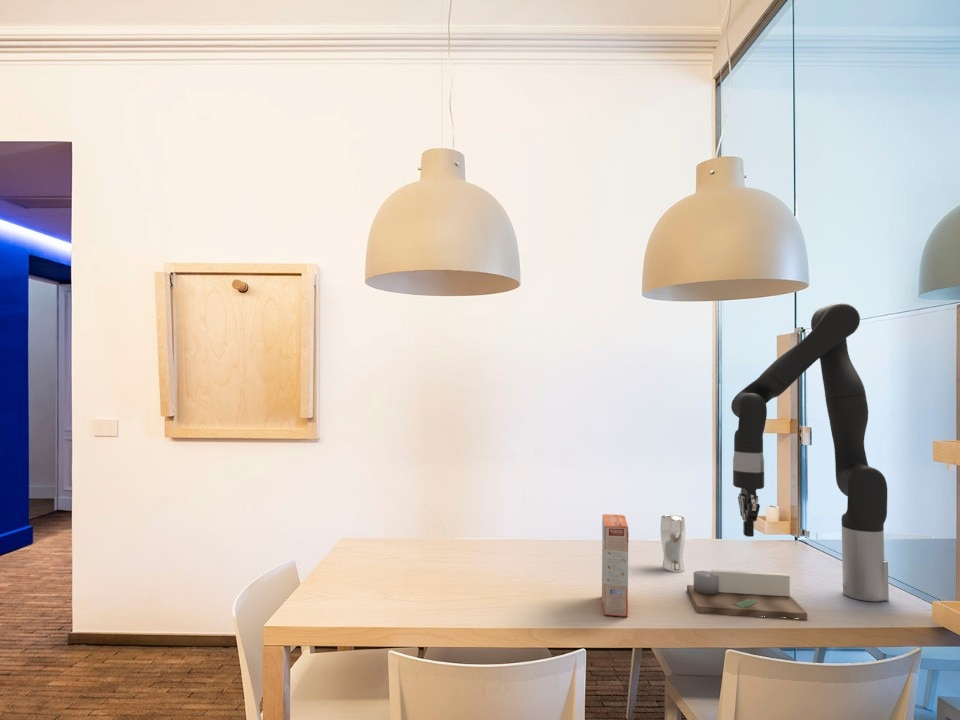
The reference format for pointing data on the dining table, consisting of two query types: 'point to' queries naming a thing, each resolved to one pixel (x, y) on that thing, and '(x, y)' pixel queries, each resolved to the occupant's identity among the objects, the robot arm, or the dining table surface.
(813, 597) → the dining table surface
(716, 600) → the brown wooden board
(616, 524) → the cracker box
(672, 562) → the beer glass
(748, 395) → the robot arm
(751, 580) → the lever handle
